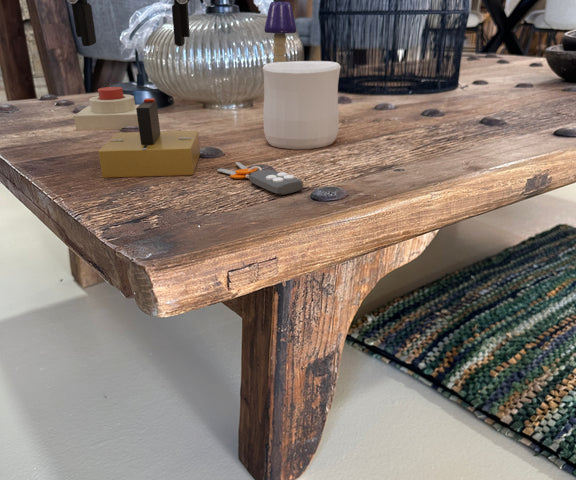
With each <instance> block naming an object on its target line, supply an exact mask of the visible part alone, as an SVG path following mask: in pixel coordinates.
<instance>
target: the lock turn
mask: <svg viewBox="0 0 576 480" xmlns="http://www.w3.org/2000/svg"><path fill="white" fill-rule="evenodd" d="M157 101H158V100H156V99H155V97H149V98H147V97H145V98H144V99H143V102H141V103H140V104H138V105H139V106H138V107H137V108H136V111H137V118H138V126H139V129H138V132H139V133H140V140H141V145H153V144H154V143H155V141H156V140H157V139H158V137H159V136H160V132H161V127H160V118H159V110H158V109H159V108H158V102H157Z"/></svg>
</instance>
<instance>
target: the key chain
mask: <svg viewBox="0 0 576 480" xmlns="http://www.w3.org/2000/svg"><path fill="white" fill-rule="evenodd" d="M234 164H235V165H236V167H238V169H236V170H233V169H231V170H230V169H226V168H222V167H220V168H217V169H216V172H219V173H222V174H226V175H229V177H230V178H232V179H236V180H237V179H248V180H249V181H250V182H251V183H252V184H254V185H256V186H258V187H260V188H262V189H264V190H267V191H269V192H271V193H274V194H276V195H280V196H281V195H282V196H284V195H288V194H292V193H295V192H299V191H301V190H302V188H304V181H303V180H301V179H300V178H298V177H295V176H294V175H293V174H288V173H287V172H280V171H276V170H273V169H268V168H267V169H265V168H264V169H263V168H262V167H261V166H259V165H255V166H252V167H247V166H245V165H244V164H243V163H242V162H240V161H235V162H234Z"/></svg>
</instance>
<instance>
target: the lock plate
mask: <svg viewBox="0 0 576 480" xmlns="http://www.w3.org/2000/svg"><path fill="white" fill-rule="evenodd" d="M199 135H200V134H199V130H174V131H172V130H171V131H169V130H168V131H160V136H159V137H158V139H157V140H156V141H155V143H154V144H153V145H141V140H140V133H139V131H138V132H137V131H135V132H116V133H114V135H113V136H112V137H110V139H108V141H107V142H106V143H105V144H104V145H103V146H102V147H100V149H99V150H98V153H97V154H98V157H99V165H100V169H101V175H102V178H104V179H107V178H109V179H112V178H113V179H114V178H139V177H140V178H141V177H173V176H174V177H175V176H178V177H179V176H194V174H195V171H196V169H197V168H196V167H197V166H198V165H197V164H198V162H199V159H200V157H201V147H200V137H199Z"/></svg>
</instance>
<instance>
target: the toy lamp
mask: <svg viewBox="0 0 576 480" xmlns="http://www.w3.org/2000/svg"><path fill="white" fill-rule="evenodd" d="M296 32H297V27H296V20H295V16H294V11H293V6H292V3H291V2H289V1H270V3H269V6H268V11H267V15H266V20H265V24H264V33H266V34H274V35H273V42H274V46H273V53H274V58H273V63H275V62H287V58H286V53H287V47H286V42H287V36H286V34H296Z"/></svg>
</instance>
